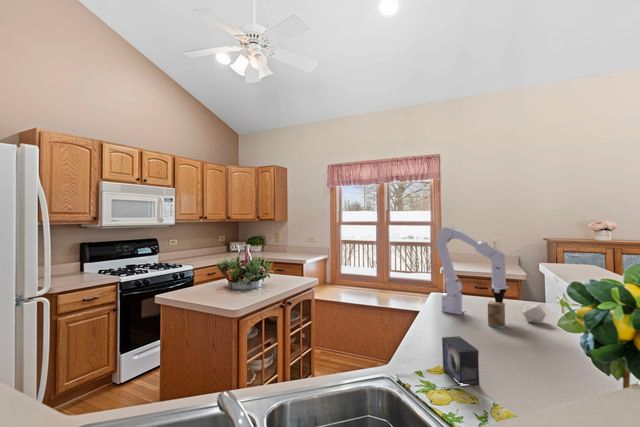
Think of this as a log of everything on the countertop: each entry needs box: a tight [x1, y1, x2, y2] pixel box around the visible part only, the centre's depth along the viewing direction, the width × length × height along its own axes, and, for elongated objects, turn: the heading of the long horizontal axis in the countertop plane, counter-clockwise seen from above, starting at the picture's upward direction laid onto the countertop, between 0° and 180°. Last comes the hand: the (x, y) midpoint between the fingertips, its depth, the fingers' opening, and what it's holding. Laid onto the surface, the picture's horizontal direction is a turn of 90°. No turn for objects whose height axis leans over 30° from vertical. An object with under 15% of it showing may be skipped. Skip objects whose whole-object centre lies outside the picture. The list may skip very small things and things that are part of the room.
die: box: [521, 303, 547, 325], centre depth 136 cm, size 8×9×10 cm
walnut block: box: [487, 300, 506, 330], centre depth 132 cm, size 6×5×10 cm
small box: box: [441, 335, 480, 386], centre depth 91 cm, size 11×6×10 cm, turn 5°
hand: (499, 304), depth 140 cm, fingers closed
